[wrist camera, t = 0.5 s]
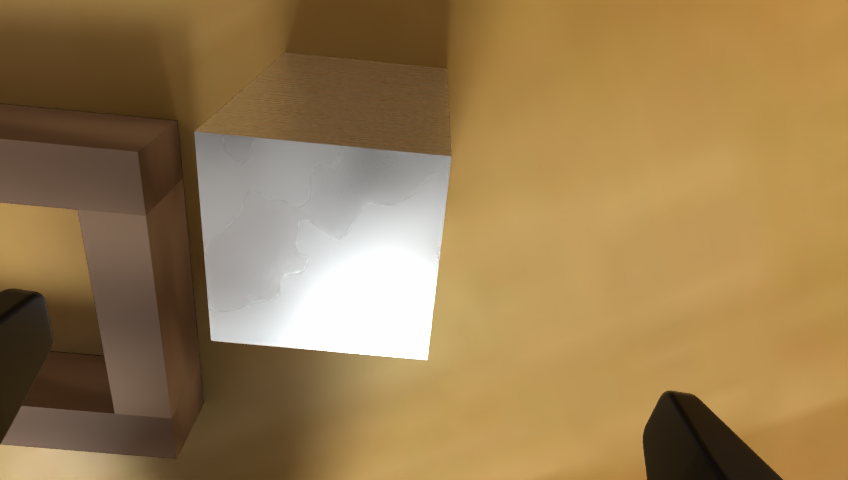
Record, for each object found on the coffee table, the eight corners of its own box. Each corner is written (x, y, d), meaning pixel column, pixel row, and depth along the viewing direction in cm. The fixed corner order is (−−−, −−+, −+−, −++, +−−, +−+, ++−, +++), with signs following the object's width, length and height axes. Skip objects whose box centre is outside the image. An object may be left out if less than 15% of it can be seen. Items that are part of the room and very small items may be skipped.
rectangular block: (431, 214, 22) (427, 359, 14) (286, 200, 21) (211, 340, 14) (446, 68, 19) (451, 155, 12) (285, 52, 19) (194, 131, 12)
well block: (204, 402, 26) (176, 459, 23) (-92, 377, 25) (-154, 431, 23) (177, 120, 20) (137, 151, 17) (-201, 84, 20) (-301, 110, 17)
